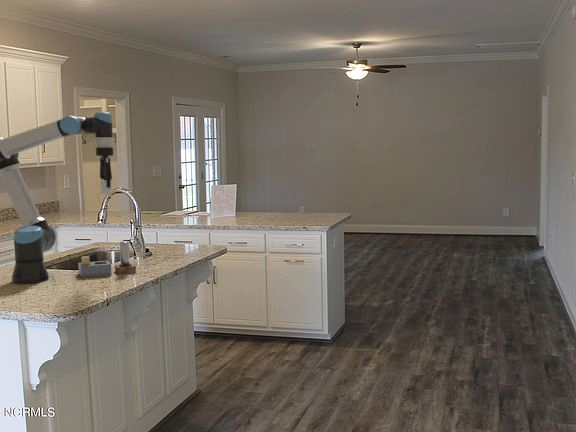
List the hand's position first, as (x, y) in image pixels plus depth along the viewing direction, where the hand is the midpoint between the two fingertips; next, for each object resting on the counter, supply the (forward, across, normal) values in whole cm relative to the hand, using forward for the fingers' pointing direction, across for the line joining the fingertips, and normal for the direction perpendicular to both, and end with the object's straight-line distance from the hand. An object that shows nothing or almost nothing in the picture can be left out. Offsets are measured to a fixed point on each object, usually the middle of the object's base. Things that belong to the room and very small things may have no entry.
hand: (106, 194), depth 305 cm
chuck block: (+37, -5, +7) cm, 38 cm away
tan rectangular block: (+34, -5, +11) cm, 36 cm away
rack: (+37, -5, -6) cm, 38 cm away
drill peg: (+36, -5, -6) cm, 37 cm away
